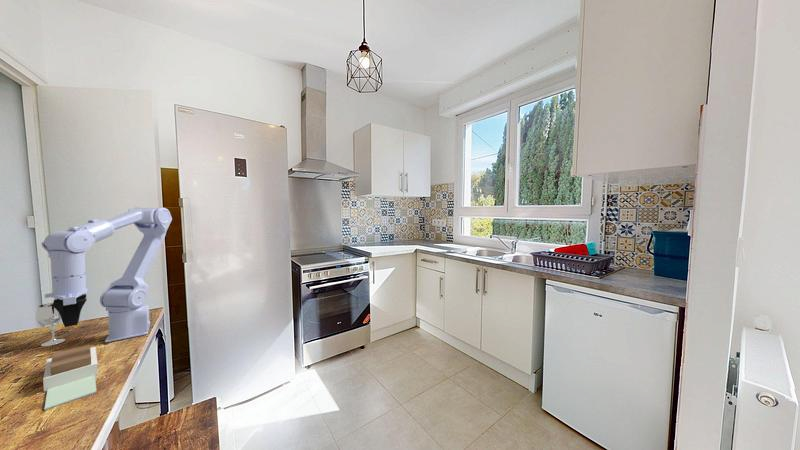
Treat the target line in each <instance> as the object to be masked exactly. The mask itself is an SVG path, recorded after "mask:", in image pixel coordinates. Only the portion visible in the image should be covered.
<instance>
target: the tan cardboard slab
mask: <svg viewBox="0 0 800 450" xmlns="http://www.w3.org/2000/svg"><path fill="white" fill-rule="evenodd" d="M90 348H91V344H86V345H82V346H77V347H74V348H70V349H65V350H62V351H61V350H60V351H57V352H53V353H52V354H51V358H52V361H51V367H50V370H51V376H53V375H56V374H60V373H63V372H67V371H70V370H74V369H77V368H81V367H84V366H88V365H91V351H90Z"/></svg>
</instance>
